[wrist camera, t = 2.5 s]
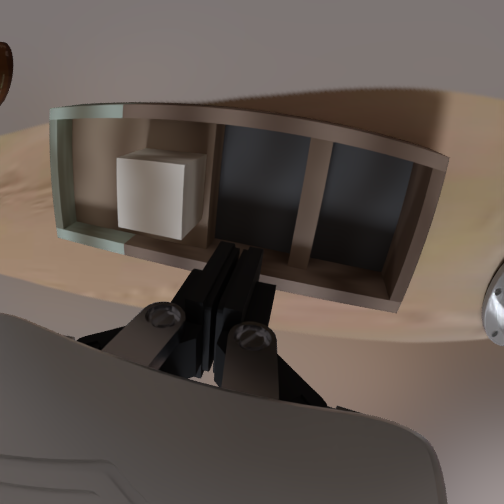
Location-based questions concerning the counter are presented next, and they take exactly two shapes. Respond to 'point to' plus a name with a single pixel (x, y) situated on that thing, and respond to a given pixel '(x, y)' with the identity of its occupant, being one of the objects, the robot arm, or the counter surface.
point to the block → (160, 191)
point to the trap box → (259, 194)
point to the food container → (5, 70)
